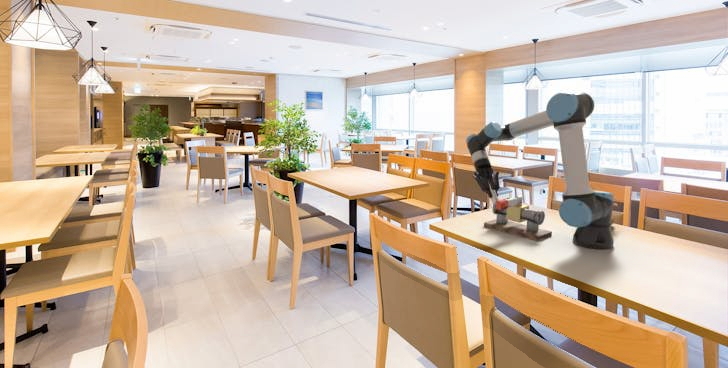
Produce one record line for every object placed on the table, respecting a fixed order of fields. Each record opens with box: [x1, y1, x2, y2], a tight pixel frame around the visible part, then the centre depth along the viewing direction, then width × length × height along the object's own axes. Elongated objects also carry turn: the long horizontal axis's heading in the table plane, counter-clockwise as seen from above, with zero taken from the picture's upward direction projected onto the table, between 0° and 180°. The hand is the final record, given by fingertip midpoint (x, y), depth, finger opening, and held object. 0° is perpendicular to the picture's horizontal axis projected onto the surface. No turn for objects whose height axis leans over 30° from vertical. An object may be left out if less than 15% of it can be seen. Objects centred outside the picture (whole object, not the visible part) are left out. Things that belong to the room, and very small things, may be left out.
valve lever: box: [496, 195, 524, 210], centre depth 179 cm, size 17×4×4 cm, turn 125°
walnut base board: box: [483, 218, 553, 242], centre depth 186 cm, size 28×12×2 cm, turn 37°
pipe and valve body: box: [492, 203, 546, 233], centre depth 184 cm, size 23×7×10 cm, turn 37°
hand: (496, 203), depth 178 cm, fingers closed
